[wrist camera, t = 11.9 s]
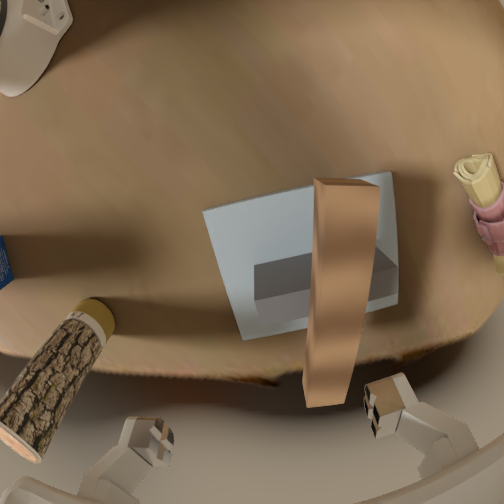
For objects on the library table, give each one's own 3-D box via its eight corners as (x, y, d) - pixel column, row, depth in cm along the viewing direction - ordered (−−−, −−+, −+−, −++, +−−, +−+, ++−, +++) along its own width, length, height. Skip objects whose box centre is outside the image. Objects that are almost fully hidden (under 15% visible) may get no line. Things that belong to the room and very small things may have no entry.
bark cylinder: (124, 318, 38) (45, 460, 15) (105, 340, 40) (35, 466, 16) (89, 287, 36) (-13, 413, 13) (73, 312, 38) (-13, 427, 14)
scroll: (439, 183, 29) (483, 282, 34) (487, 177, 22) (519, 287, 27) (454, 150, 30) (495, 247, 36) (495, 142, 23) (529, 249, 28)
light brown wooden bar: (313, 178, 22) (326, 185, 18) (360, 179, 22) (380, 186, 18) (302, 381, 30) (307, 407, 26) (336, 377, 30) (343, 403, 26)
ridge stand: (242, 335, 38) (240, 383, 30) (204, 209, 32) (186, 233, 24) (394, 299, 37) (423, 337, 28) (387, 170, 30) (428, 182, 22)
